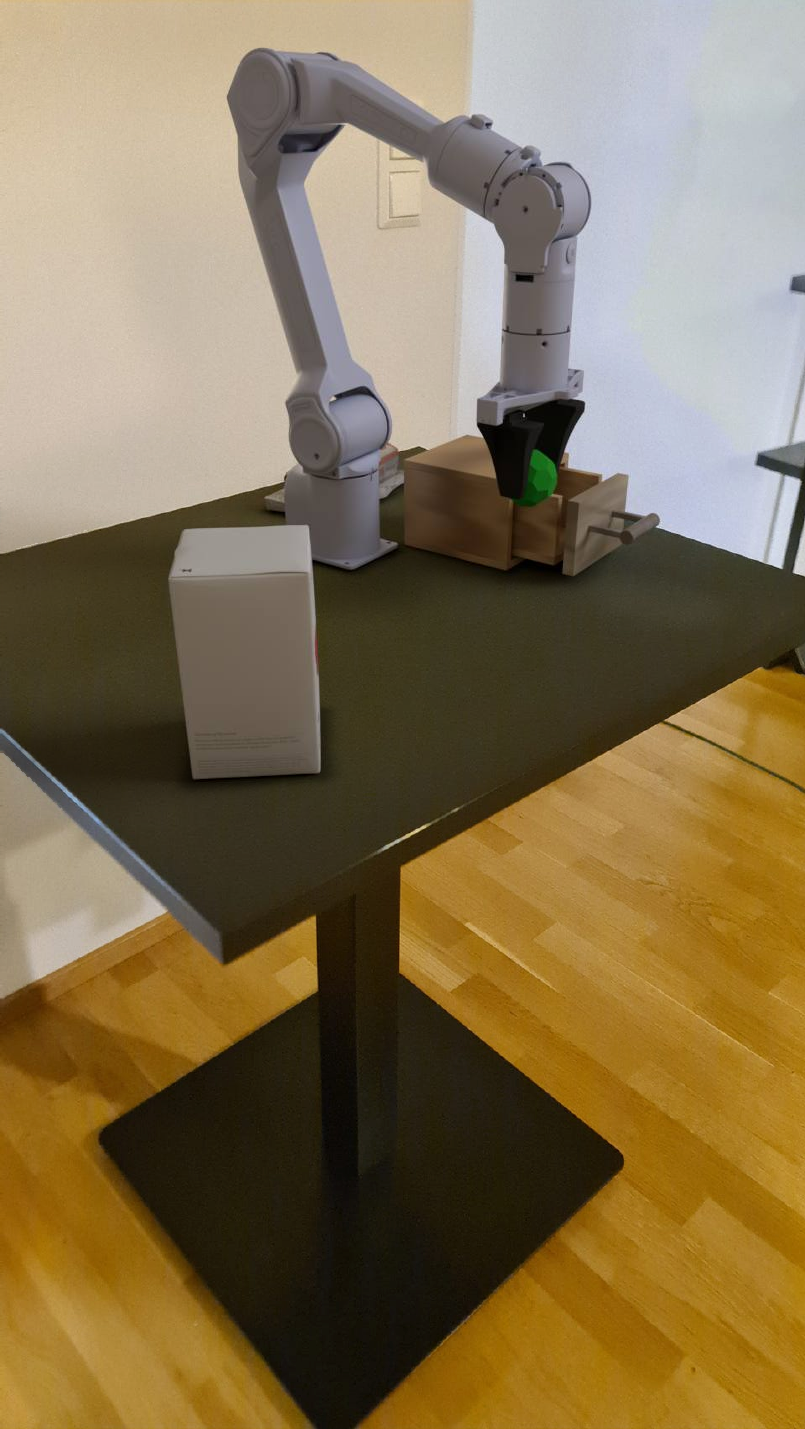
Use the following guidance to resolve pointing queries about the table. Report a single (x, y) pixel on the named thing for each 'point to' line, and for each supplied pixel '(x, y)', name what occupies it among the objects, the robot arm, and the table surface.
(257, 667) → the rectangular carton
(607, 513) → the drawer
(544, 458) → the polyhedron
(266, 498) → the packaged product
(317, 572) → the table surface
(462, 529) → the cabinet
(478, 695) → the table surface
